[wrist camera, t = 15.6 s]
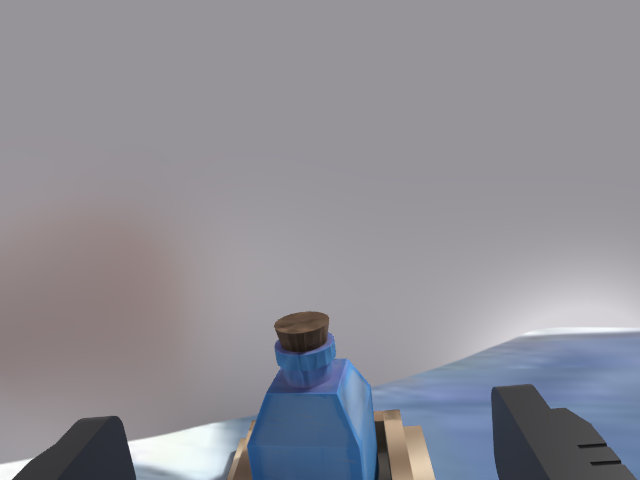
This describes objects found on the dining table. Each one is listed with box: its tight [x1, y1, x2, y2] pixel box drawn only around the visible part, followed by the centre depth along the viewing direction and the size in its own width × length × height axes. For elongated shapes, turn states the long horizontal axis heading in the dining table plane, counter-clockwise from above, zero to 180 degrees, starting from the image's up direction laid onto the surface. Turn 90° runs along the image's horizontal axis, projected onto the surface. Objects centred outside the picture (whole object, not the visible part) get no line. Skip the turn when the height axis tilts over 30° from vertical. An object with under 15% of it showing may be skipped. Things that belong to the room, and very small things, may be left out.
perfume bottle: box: [247, 312, 379, 480], centre depth 27 cm, size 6×6×12 cm
